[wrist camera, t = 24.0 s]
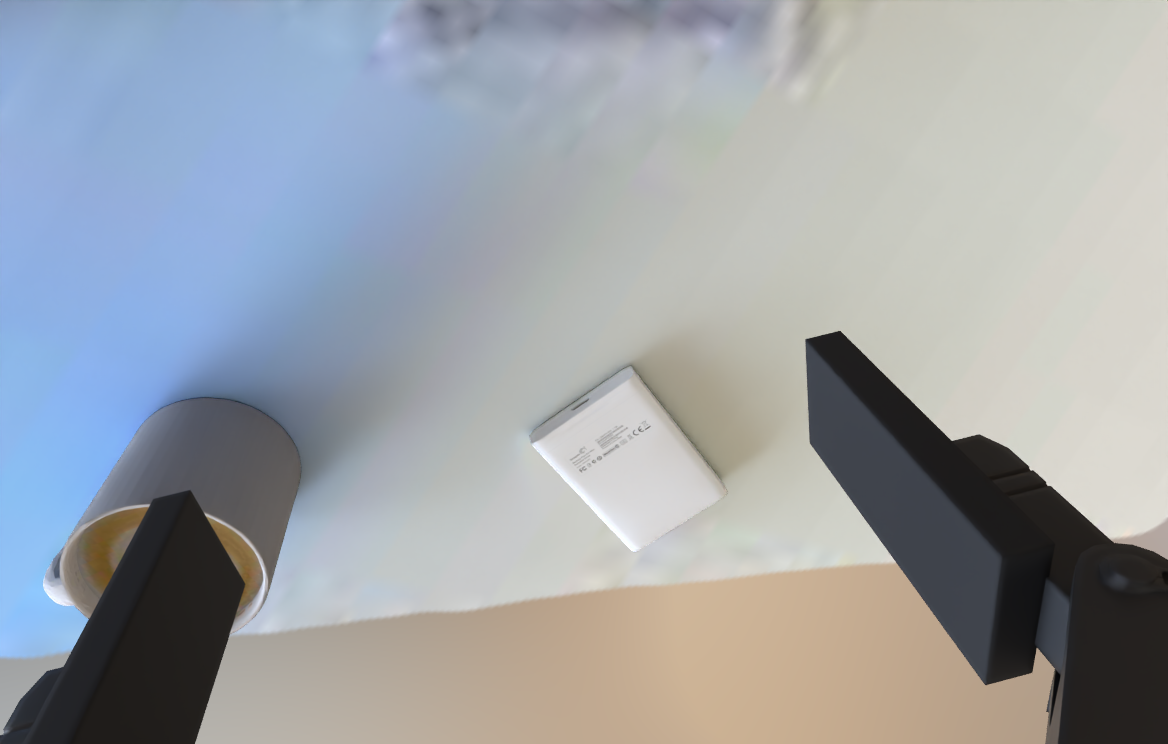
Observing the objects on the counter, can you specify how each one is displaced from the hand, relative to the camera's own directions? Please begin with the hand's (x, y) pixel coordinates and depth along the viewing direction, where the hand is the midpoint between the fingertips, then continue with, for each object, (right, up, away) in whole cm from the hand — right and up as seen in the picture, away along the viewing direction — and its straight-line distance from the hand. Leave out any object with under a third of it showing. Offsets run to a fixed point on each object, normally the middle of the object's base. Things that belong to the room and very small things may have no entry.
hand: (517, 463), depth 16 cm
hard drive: (+5, -4, +36) cm, 37 cm away
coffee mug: (-23, -4, +32) cm, 40 cm away
